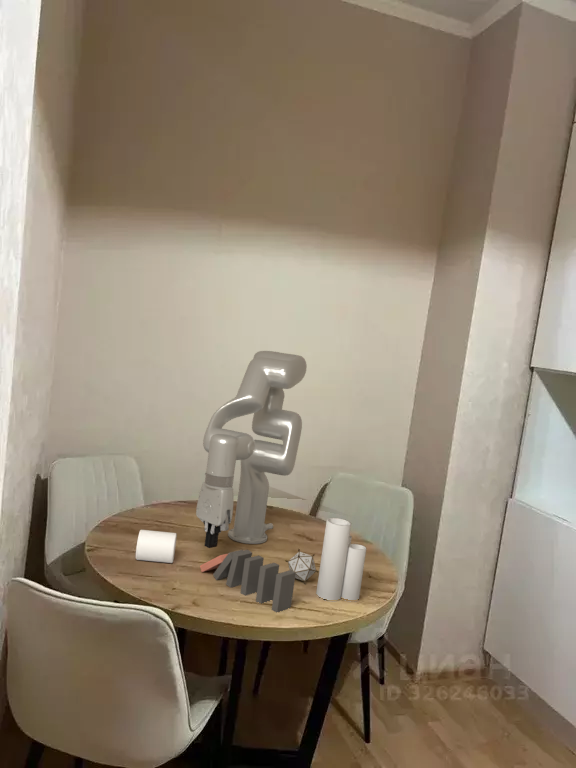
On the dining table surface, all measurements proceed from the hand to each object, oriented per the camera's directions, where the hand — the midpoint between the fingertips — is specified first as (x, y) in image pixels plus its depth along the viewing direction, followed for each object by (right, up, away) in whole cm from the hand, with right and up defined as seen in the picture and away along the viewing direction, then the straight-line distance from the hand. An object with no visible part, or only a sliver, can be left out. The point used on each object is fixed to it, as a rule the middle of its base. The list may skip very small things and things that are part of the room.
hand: (210, 546), depth 174 cm
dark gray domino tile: (+7, -8, -7) cm, 13 cm away
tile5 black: (+15, -10, -14) cm, 23 cm away
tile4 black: (+11, -9, -10) cm, 18 cm away
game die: (+24, -10, +2) cm, 26 cm away
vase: (+34, -12, -5) cm, 36 cm away
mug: (-16, -5, +5) cm, 17 cm away
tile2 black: (+3, -7, -3) cm, 8 cm away
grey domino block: (+19, -11, -17) cm, 28 cm away
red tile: (-1, -6, +1) cm, 6 cm away
